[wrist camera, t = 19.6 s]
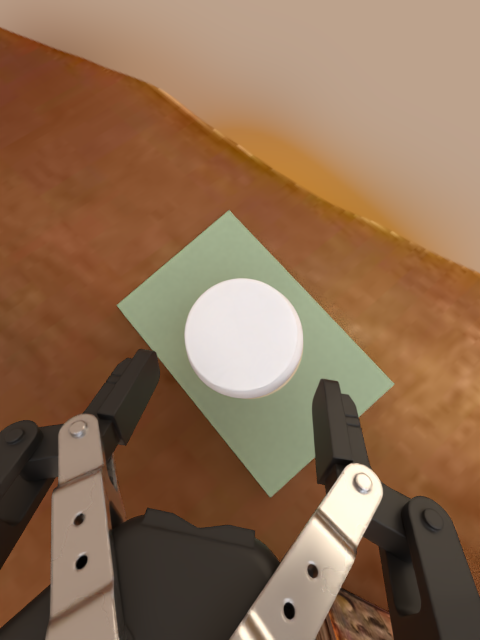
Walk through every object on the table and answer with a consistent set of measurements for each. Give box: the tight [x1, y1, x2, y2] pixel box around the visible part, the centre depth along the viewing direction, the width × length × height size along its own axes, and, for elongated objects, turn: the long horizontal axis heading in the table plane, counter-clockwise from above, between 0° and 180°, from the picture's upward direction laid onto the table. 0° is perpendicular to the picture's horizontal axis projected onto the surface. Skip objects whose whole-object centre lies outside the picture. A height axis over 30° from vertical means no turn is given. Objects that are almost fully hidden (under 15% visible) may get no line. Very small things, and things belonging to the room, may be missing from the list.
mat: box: [117, 210, 394, 498], centre depth 22 cm, size 13×20×1 cm, turn 41°
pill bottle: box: [184, 278, 303, 399], centre depth 16 cm, size 6×6×11 cm
